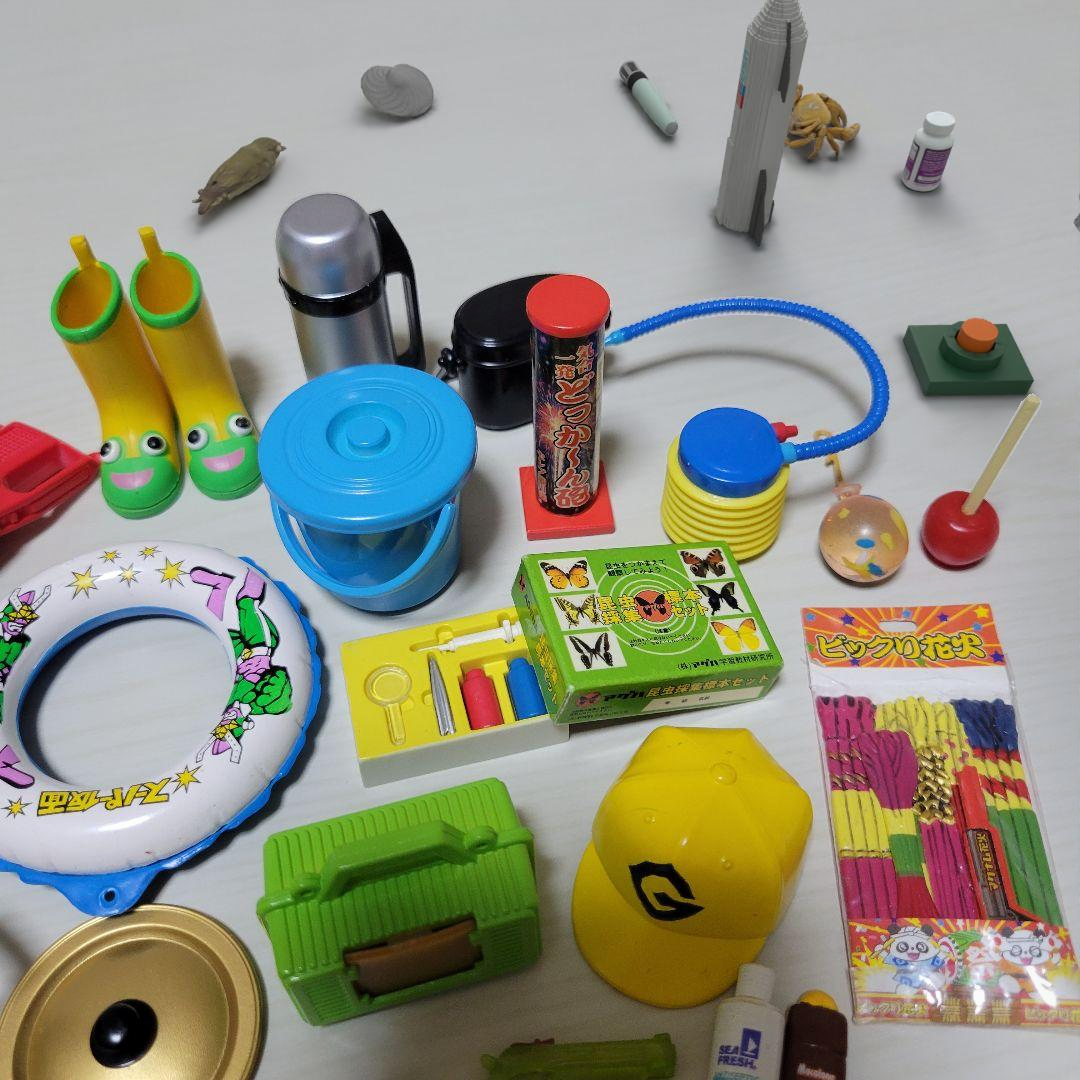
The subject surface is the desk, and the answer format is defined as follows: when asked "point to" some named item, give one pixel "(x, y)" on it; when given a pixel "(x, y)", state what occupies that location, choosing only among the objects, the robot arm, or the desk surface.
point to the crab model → (818, 121)
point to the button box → (965, 363)
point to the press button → (977, 335)
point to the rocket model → (761, 117)
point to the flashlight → (648, 97)
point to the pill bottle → (929, 152)
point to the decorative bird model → (239, 172)
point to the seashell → (397, 90)
